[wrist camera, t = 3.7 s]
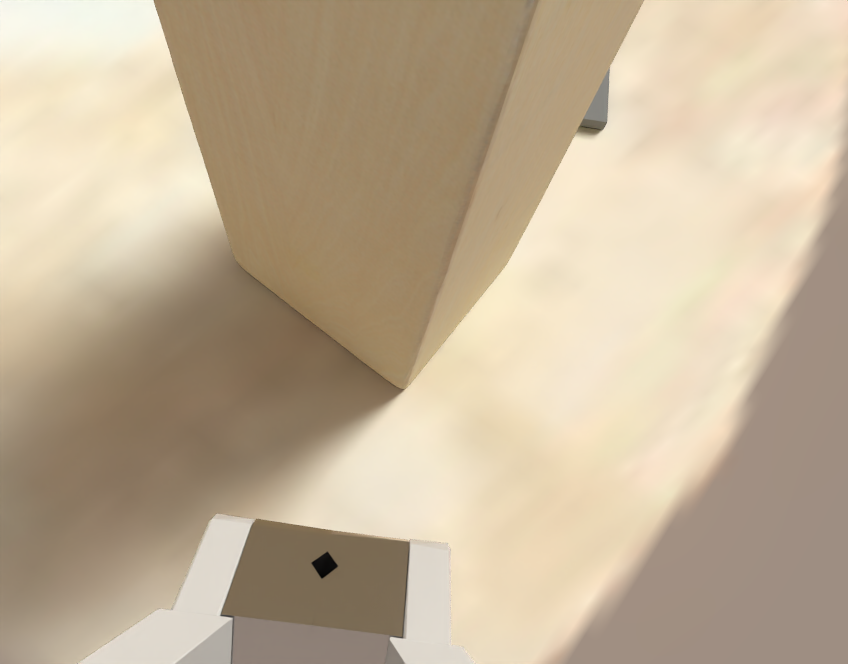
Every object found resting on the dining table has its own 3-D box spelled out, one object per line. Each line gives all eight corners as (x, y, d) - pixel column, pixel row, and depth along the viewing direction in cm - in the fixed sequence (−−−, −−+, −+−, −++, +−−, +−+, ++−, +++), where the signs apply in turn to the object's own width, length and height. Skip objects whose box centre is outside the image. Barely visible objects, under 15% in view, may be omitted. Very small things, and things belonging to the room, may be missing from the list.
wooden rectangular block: (526, 250, 29) (923, -509, 9) (407, 398, 26) (585, -180, 7) (362, 131, 30) (387, -791, 10) (233, 263, 27) (-67, -588, 8)
